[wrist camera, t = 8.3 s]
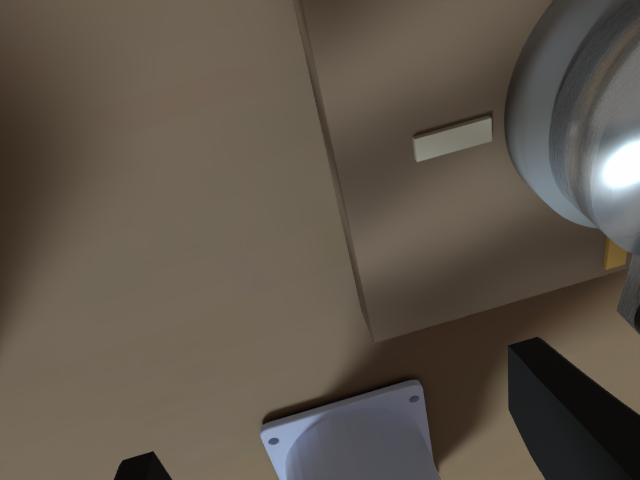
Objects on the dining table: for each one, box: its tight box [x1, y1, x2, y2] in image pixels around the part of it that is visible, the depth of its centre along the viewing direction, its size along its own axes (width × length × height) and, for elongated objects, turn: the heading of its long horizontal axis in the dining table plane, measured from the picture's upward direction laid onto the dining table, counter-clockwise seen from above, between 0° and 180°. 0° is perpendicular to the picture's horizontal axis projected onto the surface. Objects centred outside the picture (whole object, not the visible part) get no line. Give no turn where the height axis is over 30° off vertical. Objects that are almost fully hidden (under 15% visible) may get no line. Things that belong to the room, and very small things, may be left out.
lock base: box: [293, 0, 633, 343], centre depth 18 cm, size 16×20×4 cm
